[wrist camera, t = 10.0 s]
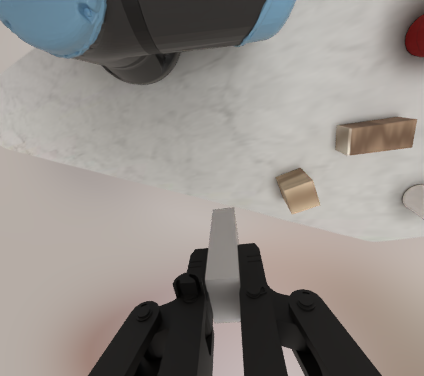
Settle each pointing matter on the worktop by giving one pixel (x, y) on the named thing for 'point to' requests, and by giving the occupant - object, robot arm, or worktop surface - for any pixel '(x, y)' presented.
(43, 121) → the worktop surface
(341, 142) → the walnut block
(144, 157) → the worktop surface
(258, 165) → the worktop surface
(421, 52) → the plastic cup
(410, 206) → the drinking glass
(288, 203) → the oak block
